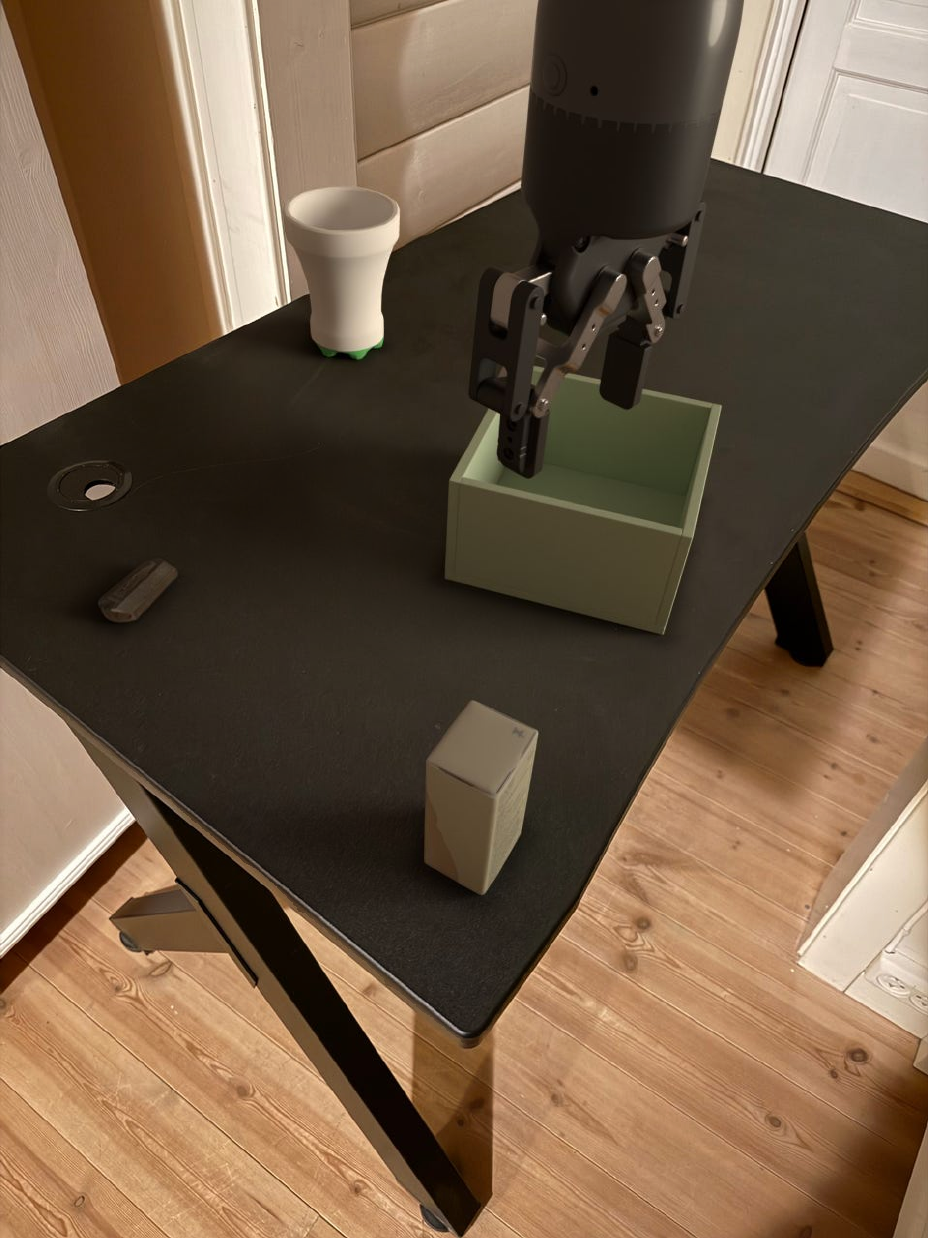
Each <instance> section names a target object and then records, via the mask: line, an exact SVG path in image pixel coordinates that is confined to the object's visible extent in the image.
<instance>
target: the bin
mask: <svg viewBox="0 0 928 1238" xmlns="http://www.w3.org/2000/svg"><path fill="white" fill-rule="evenodd" d="M544 368H545V367H541V366H537V365H534V368H533V374H532V381H531V384H533V385H535V386H536V384H537V382H538V380H539V378H540V376H541V374H542V372H543V370H544ZM600 382H601V379H598V378H593V377H589V376H584V375H580V374H575V373H568V374H567V375H565V377H564V378H563V380H562V382H561V384H560V386H559V388H558V390H557V392H556V394H555V396H554V398H553V400H552V403H551V405H550V407H549V408H548V410H549V411H550V416H549V423H548V431H547V438H546V445H545V453H544V460H543V468H542V470H541V472H539V473H538V474H536V475H535V476H534V477H532V478H530V479H526V478H524V477H522V476H521V475H519V474H517V473H515V472H513V471H512V470H510V469H508V468H506V467H505V466H503V465H502V463H501V462H500V461H498V457H497V444H498V437H499V436H498V432H499V420H500V414H498V413H496V412H495V411H493V410H491V409H489V408H487V411H486V413H485V414H484V416H483V418H482V420H481V422H479V423H480V424H479V425H478V427H477V429H476V431H475V432H474V435H472V438H471V440H470V441H469V444H468V445H467V447H466V449H465V450H464V452H463V455H462V456H461V458H460V460H459V462H458V463H457V466H456V467H455V469H454V470H453V473H452V475H451V477H450V478H449V480H448V493H447V494H448V495H447V496H448V497H447V517H446V541H445V558H444V559H445V561H444V579H445V580H447V581H448V580H449V581H452V582H456V583H460V584H464V585H468V586H471V587H476V588H479V589H483V590H487V591H491V592H495V593H498V594H503V595H506V596H510V597H514V598H518V599H522V600H526V601H530V602H533V603H537V604H540V605H541V604H542V605H545V606H549V607H553V608H557V609H561V610H565V611H569V612H573V613H576V614H580V615H584V616H588V617H592V618H596V619H600V620H602V621H608V622H611V623H616V624H619V625H622V626H627V627H630V628H634V629H638V630H642V631H647V632H649V633H654V634H658V635H662V636H663V635H664V634H665V631H666V628H667V624H668V621H669V618H670V614H671V613H672V612H671V611H672V608H673V604H674V601H675V598H676V595H677V592H678V588H679V585H680V582H681V579H682V578H681V577H682V575H683V572H684V569H685V565H686V563H687V559H688V556H689V553H690V549H691V546H692V542H693V540H694V537H695V536H694V535H695V531H696V526H697V523H698V522H697V521H698V517H699V512H700V507H701V502H702V499H703V494H704V490H705V485H706V480H707V475H708V471H709V466H710V462H711V457H712V453H713V447H714V443H715V439H716V435H717V430H718V427H719V426H718V425H719V420H720V416H721V411H722V407H723V405H721V404H718V403H712V402H708V401H704V400H699V399H693V398H690V397H684V396H680V395H676V394H670V393H666V392H661V391H657V390H656V391H655V390H651V389H646V388H643V390H642V394H641V399H640V402H639V403H638V404H637V405H635V406H634V407H633V408H631V409H629V410H625V409H622V408H620V407H618V406H616V405H614V404H612V403H610V402H608V401H606V400H604V399H603V398H602V397H601V395H600V392H599V388H600Z"/></svg>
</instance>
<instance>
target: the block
mask: <svg viewBox="0 0 928 1238" xmlns="http://www.w3.org/2000/svg"><path fill="white" fill-rule="evenodd" d="M178 576H179V572H178V570H177V568H175V567H174V566H173V565H171V564H169V563H168V562H167V561H165V560H163V559H160V558H158V557H151V558H147V559H145V561H143V562H142V563H141V564H139V565H138V566H137V567H136V568H135V569H133V570H132V571H131V572H130V573H129V574H128V575H126V576H125V577H124V578H123V579H122V580H120V581H119V582H118V583H117V584H116V585H114V586H113V587H111V588H110V590H109V591H107V592H106V593H104V595H102V596H101V597H100V598H99V599H98V606H99V608H100V610H101V612H102V614H103V616H104V617H105V618H106V619H107V620H109V621H111V622H114V623H129V622H132V621H136V620H138V619H139V618H140V617H141V616H142V615H143V614H144V613H145V612H146V610H147V609H148V608H150V606H151V605H152V604H153V603H154V602H155V601H156V599H158V598H159V597H160V596H161V594H162V593H164V591H165V590H166V589H167V588H168V587H169V586H170V585H171V584H172V583H173V582H174V580H176V578H177V577H178Z"/></svg>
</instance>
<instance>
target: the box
mask: <svg viewBox="0 0 928 1238" xmlns="http://www.w3.org/2000/svg"><path fill="white" fill-rule="evenodd" d="M538 738H539V731H538V730H537V729H536V728H533V727H531V726H529V725H527V724H525V723H523V722H521V721H519V720H517V719H515V718H512V717H511V716H508V715H506V714H504V713H502V712H499V711H498V710H495V709H494V708H492V707H489V706H487V705H485V704H482V703H480V702H479V701H476V700H473V699H472V700H470V701H469V702H468V703H467V705H466V706H465V707H464V709H462V711H461V712H460V714H458V716H457V717H456V719H455V720H454V721H453V722H452V723H451V725H450V727H449V728H448V729H447V731H446V732H445V734H444V735H442V737H441V739H440V741H439V742H438V743H437V744H436V746H435V747H434V749H433V750H432V752H431V753H430V755H429V756H428V757H427V759H426V760H425V799H424V801H425V803H424V804H425V805H424V807H425V808H424V809H425V810H424V849H423V850H424V853H423V861H424V863H425V864H426V865H428V866H429V867H431V868H432V869H434V870H436V871H438V872H439V873H441V874H442V875H444V876H445V877H448V878H449V879H450V880H453V881H454V882H456V883H458V884H459V885H461V886H463V887H465V888H467V889H469V890H471V891H472V892H474V893H476V894H478V895H480V896H483V895H485V894H486V893H487V891H488V890H489V888H490V887H491V885H492V884H493V882H494V881H495V879H496V878H497V876H498V874H499V872H500V871H501V869H502V868H503V866H504V864H505V862H506V861H507V859H508V857H509V855H510V854H511V852H512V851H513V849H514V848H515V846H516V843H517V842H518V840H519V838H520V837H521V835H522V829H523V823H524V817H525V812H526V807H527V801H528V795H529V790H530V784H531V778H532V773H533V768H534V767H533V766H534V761H535V755H536V749H537V742H538Z"/></svg>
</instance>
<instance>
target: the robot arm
mask: <svg viewBox="0 0 928 1238" xmlns="http://www.w3.org/2000/svg"><path fill="white" fill-rule="evenodd" d="M744 5H745V0H537V6H536V14H535V15H536V16H535V22H534V23H535V24H534V33H533V34H534V35H533V44H532V46H533V47H532V55H531V56H532V57H531V66H530V67H531V68H530V80H529V89H528V99H527V100H528V102H527V113H526V124H525V134H524V145H523V156H522V157H523V158H522V168H521V179H520V193H521V197H522V199H523V201H524V203H525V205H526V206H527V207H528V209H529V211H530V213H531V214H532V215H533V218H534V221H535V223H536V227H537V236H536V241H535V244H534V248H533V249H532V253H531V255H530V258H529V260H528V264H527V267H525V268H523V269H520V270H518V271H514V272H513V273H512V272H511V273H510V272H508V271H505V270H503V269H500V268H499V267H496V266H493V265H492V266H489V267H487V268H486V269H485V270H484V272H483V273H482V275H481V277H480V280H479V282H478V283H479V284H478V291H477V301H476V313H475V320H474V321H475V323H474V332H473V342H472V343H473V344H472V351H471V360H470V361H471V362H470V372H469V380H468V392H467V395H468V398H469V399H470V400H472V401H474V402H475V403H477V404H479V405H482V406H483V407H485V408H487V409H491V410H493V411H495V412H496V413H498V414H500V420H499V432H498V436H499V437H498V444H497V457H498V461H500V462H501V463H502V465H503V466H505V467H506V468H508V469H510V470H512V471H513V472H515V473H517V474H519V475H521V476H522V477H524V478H526V479H530V478H532V477H534V476H535V475H536V474H538V473H539V472H541V470H542V468H543V460H544V453H545V445H546V438H547V431H548V423H549V416H550V411H549V410H548V408H549V407H550V405H551V403H552V400H553V398H554V396H555V394H556V392H557V390H558V388H559V386H560V384H561V382H562V380H563V378H564V377H565V375H567V374H568V373H570V374H575V373H576V372H577V371H579V370H580V368H581V367H582V365H583V363H584V361H585V359H586V357H587V354H588V353H589V351H590V349H591V347H592V345H593V343H594V341H595V339H597V338H598V337H600V335H602V334H603V332H604V331H605V330H607V329H608V328H613V327H615V328H617V329H615V330H614V331H612V332H610V333H608V337H607V343H606V349H605V354H604V361H603V366H602V371H601V377H600V380H601V382H600V388H599V392H600V395H601V397H602V398H603V399H604V400H606V401H608V402H610V403H612V404H614V405H616V406H618V407H620V408H622V409H625V410H629V409H631V408H633V407H634V406H635V405H637V404H638V403H639V402H640V399H641V394H642V390H643V389H644V385H645V380H646V375H647V370H648V367H649V362H650V359H651V358H650V357H651V352H652V348H653V344H656V343H658V342H659V340H660V339H661V338H662V336H663V334H664V331H665V329H666V320H668V318H670V319H672V320H674V321H676V320H678V319H679V318H680V317H682V315H683V313H684V311H685V309H686V307H687V303H688V298H689V293H690V289H691V283H692V279H693V274H694V269H695V264H696V259H697V255H698V249H699V245H700V241H701V235H702V231H703V225H704V220H705V216H706V213H707V212H706V211H707V203H706V202H705V201H703V200H702V197H703V192H704V188H705V185H706V181H707V175H708V171H709V167H710V163H711V159H712V153H713V150H714V145H715V141H716V138H717V137H716V136H717V133H718V129H719V124H720V120H721V115H722V111H723V106H724V101H725V97H726V93H727V88H728V84H729V80H730V76H731V71H732V67H733V63H734V59H735V54H736V49H737V45H738V42H739V37H740V33H741V32H740V31H741V27H742V26H741V25H742V21H743V13H744ZM662 271H664V272H665V273H668V274H669V275H670V278H671V281H670V288H669V290H668V289H666V288H663V284H662V280H661V278H660V273H661V272H662ZM545 324H546V325H547V326H548V327H549V328H550V329H552V330H553V331H554V332H557V333H559V334H561V335H563V336H565V337H567V338H568V339H567V341H566V342H564V343H562V344H559V345H558V344H555V343H553V342H550V341H549V340H546V339H544V338H542V337H540V336H539V335H540V329H541V327H542V326H544V325H545ZM536 357H537V358H540V359H541V360H543V361H545V366H544V367H543V368H544V370H543V372H542V374H541V376H540V378H539V380H538V382H537V384H536V386H535V385H533V384H531V381H532V374H533V368H534V366H535V361H536ZM497 364H498V365H500V366H501V369H500V371H499V373H498V376H496V372H497V371H496V369H497Z"/></svg>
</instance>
